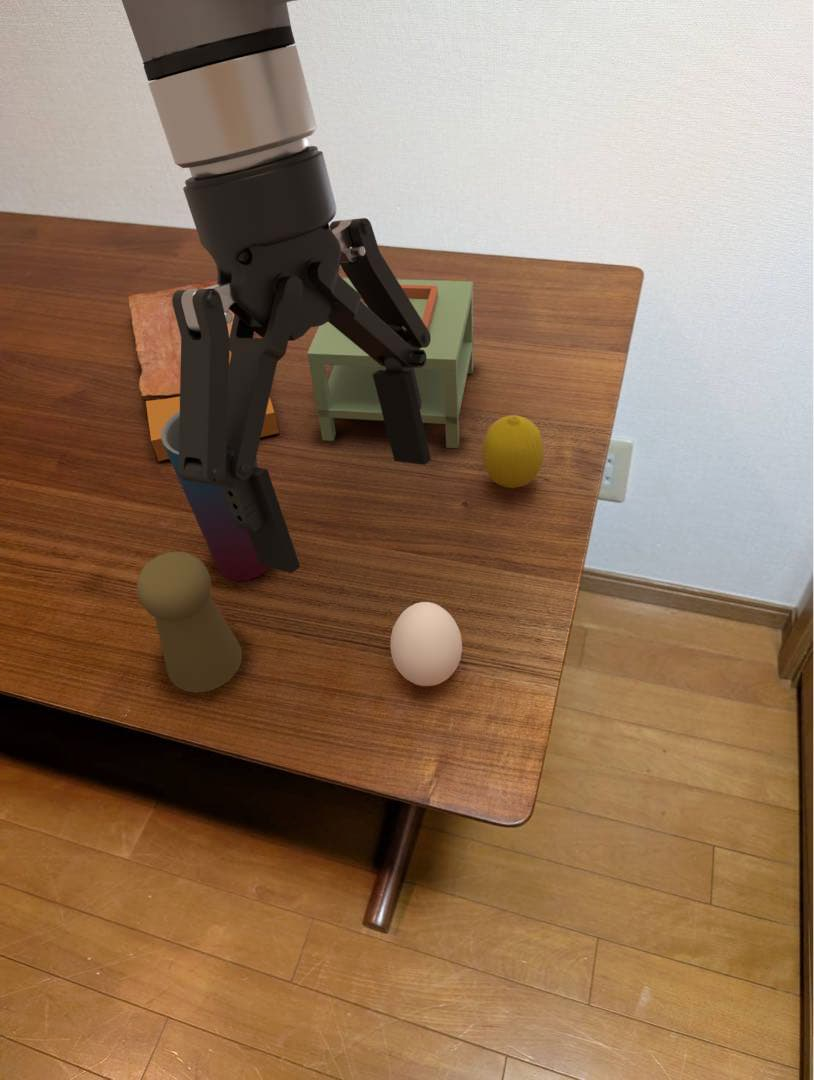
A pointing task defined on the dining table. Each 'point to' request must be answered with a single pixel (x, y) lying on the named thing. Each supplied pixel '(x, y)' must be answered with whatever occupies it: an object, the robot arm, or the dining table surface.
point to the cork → (188, 622)
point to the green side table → (438, 380)
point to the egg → (426, 644)
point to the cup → (215, 518)
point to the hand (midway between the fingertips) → (351, 509)
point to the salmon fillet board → (166, 360)
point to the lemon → (512, 451)
